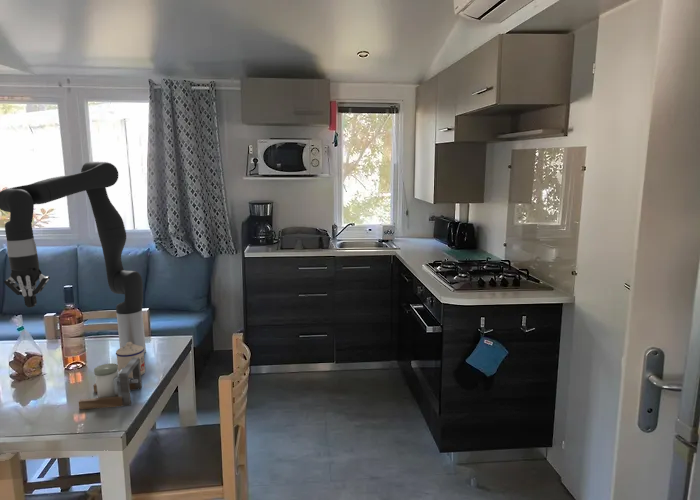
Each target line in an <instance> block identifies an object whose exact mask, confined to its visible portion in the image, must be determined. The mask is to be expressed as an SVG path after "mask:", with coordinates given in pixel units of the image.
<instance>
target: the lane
mask: <svg viewBox="0 0 700 500" xmlns="http://www.w3.org/2000/svg"><path fill="white" fill-rule="evenodd" d="M132 371H133V378H132V379H138V383H130V384H129V380H130V379H129V374H130V373H131V372H132ZM120 383H121V393H122V396H120V397H106V398H98V397H96V398H83V399H82V398H81V399H80V400H79V401H78V407H79V410H88V409H89V410H90V409H102V408H114V407H115V408H117V406H118V407H129V406H131V404H132V400H131V399H132V397H131V391H133V390H134V391H136V390H141V389H142V388H143V384H142V375H141V372H140V361H139V357H134V358H132V359H131V360H130V361H129V363H128V364H127V365H126V366H125V368H124V369H123V370H122V371H121V372H120ZM92 387H93V393H97V386H96V382H94V384H93V386H92Z"/></svg>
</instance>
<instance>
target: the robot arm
mask: <svg viewBox="0 0 700 500" xmlns="http://www.w3.org/2000/svg"><path fill="white" fill-rule="evenodd" d="M80 170H81V171H80V172H78V173H73V174H66V175H60V176H55V177H50V178H46V179H42V180H39V181H37V182H33V183H30V184H26V185H19V186H14V187H8V188H6V189H3V190H0V210H1V211H2V212H6V213H9V217H10V218H9V220H8V221H7V222H6V223H4V232H5V238H6V249H7V255H8V261H9V266H10V271H11V272H10V276H9V277H8V278H7V279H6V280H4V281H3V283H4V284H5V286H7V288H9V289H10V290H11V291H12V292H13V293H14V294H16V295H17V296H22V297H23V298H24V299H23V300H24V305H25V306H26V307H27V308H34V307H36V305H37V304H38V300H37V295H38V294H39V293H41V292H42V291H43V289H45V286H46V285H47V283H48V282H49V281H50V279H51V278H50V276H49V275H47V276H46V275H44V274H42V270H41V269H40V263H39V257H38V250H37V245H36V244H37V243H36V241H35V237H34V230H33V226H32V224H33V221H34V209H35V205H44V204H47V203H50V202H54V201H56V200H60V199H63V198H66V197H68V196H72V195H74V194H78V193H80V192H81V193H82V192H86V195H87V196H88V199H89V203H90V207H91V210H92V214H93V218H94V221H95V225H96V230H97V234H98V238H99V241H100V244H101V248H102V253H103V258H104V263H105V271H106V279H107V284H108V287H109V289H110V291H111V292H112V293H113V294H116V295H117V294H118V295H124V301H123V302H120V303H118V304H116V306H115V312H116V320H117V321H116V322H117V331H118V341H119V349H120V348H122V347H124V346H125V345H126V343H127V342H132V344H135V345H140V346H142V347H143V348H144V351H143V352H144V354H145V353H146V351H147V349H146V347H147V346H146V339H145V338H146V337H145V326H144V315H143V303H144V287H143V286H144V285H143V279H142V276H141V274H140V272H138V271H135V270H124V269H125V268H124V266H123V261H122V255H123V254H122V253H123V250H124V247H125V245H126V243H127V231H126V227H125V222H124V219H123V218H122V216H121V214H120V213H119V211H118V210H117V209H116V207H115V206H114V205H113V204H112V201H111V200H110V198H109V195H108V191H107V188H110V187H112V186H114V185H115V184H116V183H117V182H118V180H119V171H118V168H117V167H116V166H115V165H114V164H113V163H111V162H108V161H87V162H85V163H84V164H83V165H82V167H81V169H80ZM38 281H39V283H38V285H37V282H38Z"/></svg>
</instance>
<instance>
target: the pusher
mask: <svg viewBox="0 0 700 500" xmlns="http://www.w3.org/2000/svg"><path fill="white" fill-rule="evenodd" d="M123 369H124V368H122V369H121V370H120V371H119V372H118V374H117V375H116V376H115V377H114V379H113V383H114V392H115V397H120V396H122V393H121V383H120V372H121V371H122V370H123ZM130 383H138V379H133V378H131V379H129V384H130Z"/></svg>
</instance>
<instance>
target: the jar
mask: <svg viewBox="0 0 700 500" xmlns="http://www.w3.org/2000/svg"><path fill="white" fill-rule="evenodd" d="M93 372H94V375H95V376H94V377H95V383H96V386H97V392H96V393H97V394H96V395H97V398H106V397H115V392H114V383H113V379H114V377H115V376H116V375H117V374H118V373H119V372H118V363H104V364H101V365H98V366H96V367H94V370H93Z"/></svg>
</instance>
